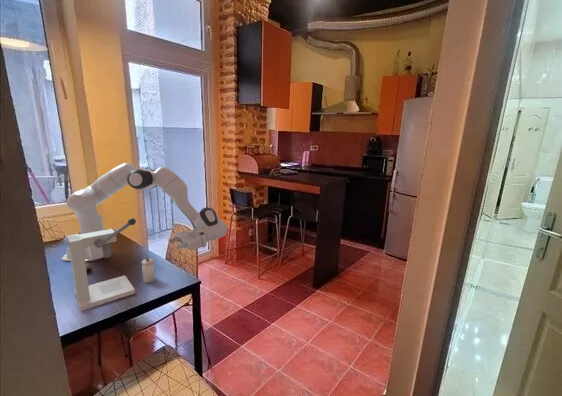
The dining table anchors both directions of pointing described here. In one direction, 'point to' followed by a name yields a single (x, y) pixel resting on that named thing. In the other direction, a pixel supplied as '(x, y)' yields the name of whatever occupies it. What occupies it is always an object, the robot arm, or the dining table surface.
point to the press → (83, 291)
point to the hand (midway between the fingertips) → (172, 244)
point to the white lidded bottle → (148, 270)
